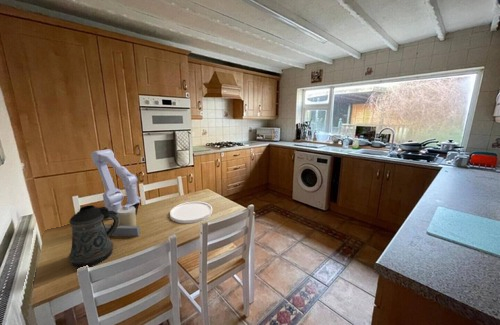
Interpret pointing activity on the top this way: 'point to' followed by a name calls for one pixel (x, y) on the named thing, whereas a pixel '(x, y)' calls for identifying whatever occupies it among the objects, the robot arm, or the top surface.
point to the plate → (191, 212)
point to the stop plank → (125, 230)
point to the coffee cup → (127, 216)
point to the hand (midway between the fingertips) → (134, 215)
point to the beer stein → (91, 236)
